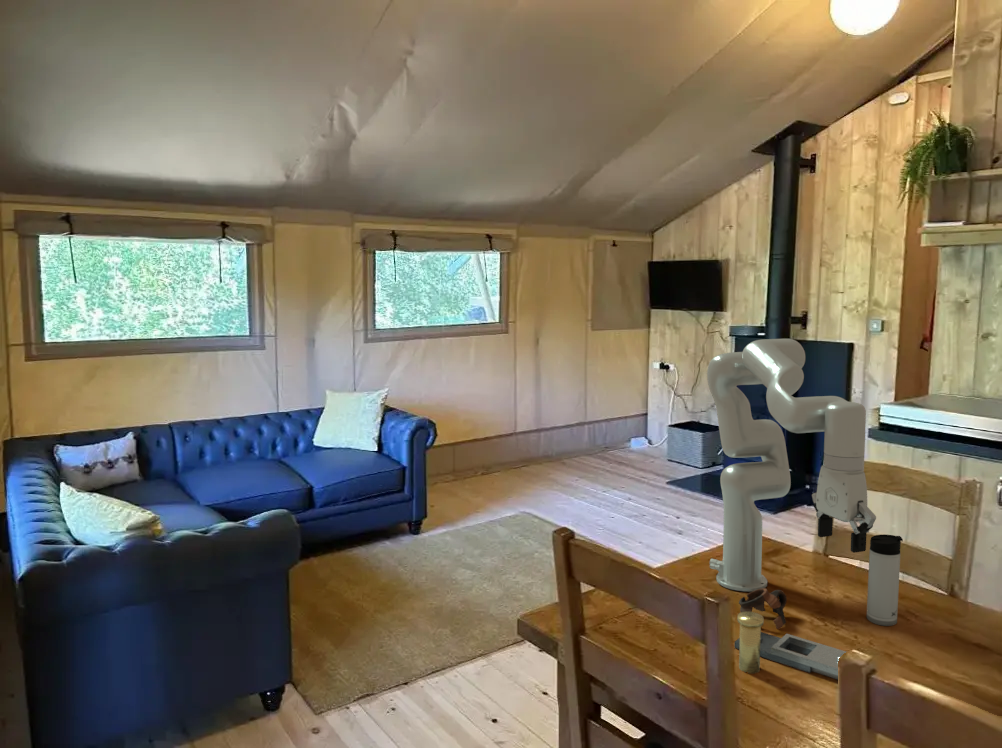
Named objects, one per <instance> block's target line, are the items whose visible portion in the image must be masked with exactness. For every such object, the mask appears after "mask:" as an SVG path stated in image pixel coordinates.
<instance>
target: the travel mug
mask: <svg viewBox="0 0 1002 748" xmlns="http://www.w3.org/2000/svg"><path fill="white" fill-rule="evenodd" d="M902 542H903V538H902V536H900V535H893V534H876V535H873V536H871V537H870V540H869V545H870V546H869V554H868V555H869V556H868V579H867V600H866V602H867V604H866V619H867V620H868V621H869V622H871V623H872V624H875V625H878V626H883V627H891V626H895V625H896V624H898V608H899V592H900V591H899V589H900V588H899V585H900V570H901V569H900V567H901V566H900V565H901V546H902V545H901V543H902Z"/></svg>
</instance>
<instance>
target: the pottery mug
mask: <svg viewBox="0 0 1002 748" xmlns="http://www.w3.org/2000/svg"><path fill="white" fill-rule="evenodd" d="M746 597H747V599H746ZM746 597H745V596H743V597H741V598H740V599H739V601H738V604H739V605H740V610H739V611H740V612H739V613H741V612H753V609H755V610H756V611H760V612H766V608H765V603H767V605H768V606H769V607H770V608H772V612H773V613H775V614H777V615H778V616H777V617H776V618H775V619H773V621H772V622H773V624H774V625H775V629H777V630H780V629H781V628H782V627H784V626H785V625H786V624H787V621H786V617H785V612H784V608H785V607H786V604H787V595H786V593H785V592H784V591H783V590H782V589H781V590H780V589H775V590H773V591H772V592H769V591H768V589H767V588H766V587H765V588H762V589H758V590H755V591H751V592H748V593H747V594H746Z"/></svg>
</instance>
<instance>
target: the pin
mask: <svg viewBox="0 0 1002 748" xmlns="http://www.w3.org/2000/svg"><path fill="white" fill-rule="evenodd" d="M764 621H765V620H764V616H763V615H762V614H760V613H758V612H755V611H754V612H753V611H752V612H739V613H738V614H737V623H738V624H739V638H740V645H739V649H738V650H739V651H738V653H739V654H738V658H739V659H738V668H739V670H740V671H742V672H743V671H744V673H746V672H748V673H747V674H757V673H759V672H760V671H761V670H760V669H761V668H760V667H761V657H760V638H761V632H762V629H761V627H763V626H764Z"/></svg>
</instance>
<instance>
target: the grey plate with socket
mask: <svg viewBox="0 0 1002 748" xmlns="http://www.w3.org/2000/svg"><path fill="white" fill-rule="evenodd" d="M739 645H740V637H738V638H737V640H735V641H734V647H735V648H734V649H736V648H737V650H739ZM846 652H847V651H846V650H842V649H840V648H836V647H833V646H829V645H826V644H822V643H818V642H815V641H813V640H809V639H805V638H802V637H800V636H797V635H793V634H790V633H786V634H785V635H783V636H782V637H780V636H779V637H778V636H777V635H776V636H775V635H772V634H769V633H766V632H762V631H761V638H760V658H763V659H766V660H769V661H773V662H775V663H778V664H782V665H784V666H788V667H790V668H794V669H796V670H799V671H803V672H806V673H808V674H811V673H812V672H813V673H816V674H820V675H822V676H825V677H828V678H832V679H835V680H838V661H839V658H840V657H841V656H842V655H843V654H844V653H846Z"/></svg>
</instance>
